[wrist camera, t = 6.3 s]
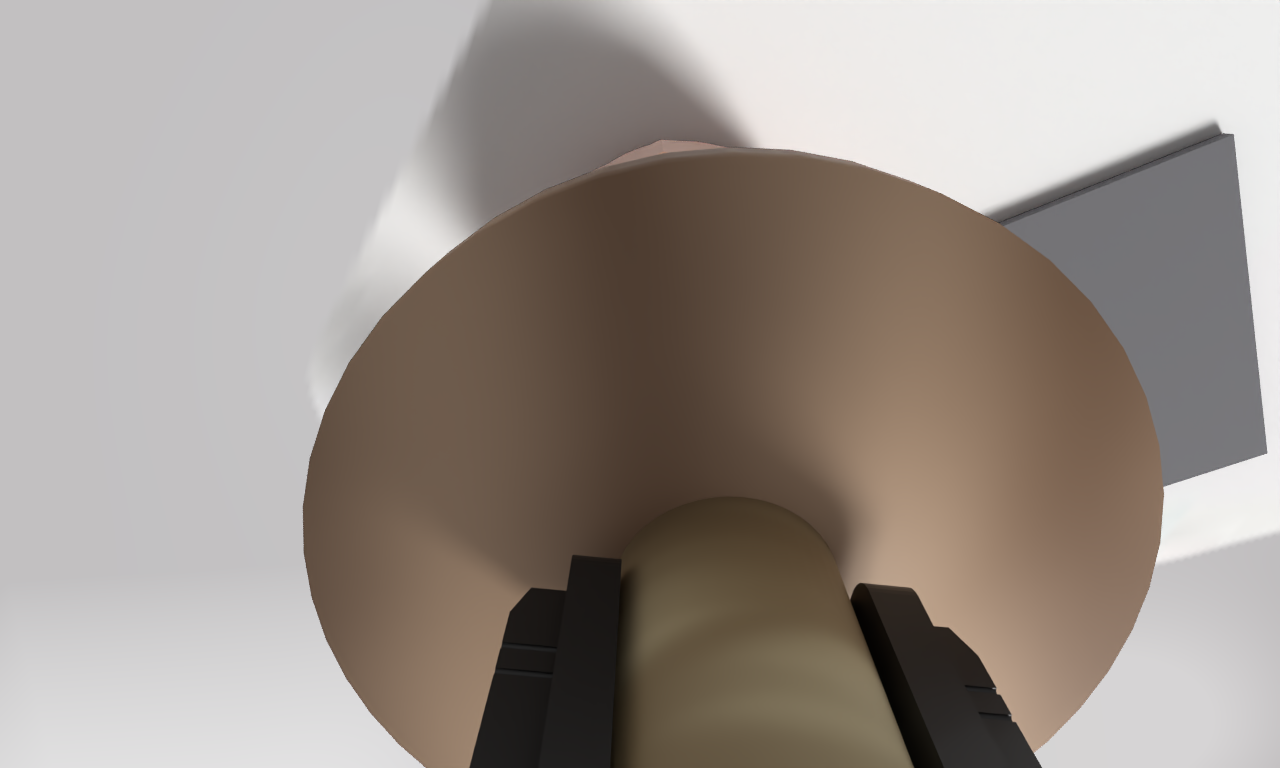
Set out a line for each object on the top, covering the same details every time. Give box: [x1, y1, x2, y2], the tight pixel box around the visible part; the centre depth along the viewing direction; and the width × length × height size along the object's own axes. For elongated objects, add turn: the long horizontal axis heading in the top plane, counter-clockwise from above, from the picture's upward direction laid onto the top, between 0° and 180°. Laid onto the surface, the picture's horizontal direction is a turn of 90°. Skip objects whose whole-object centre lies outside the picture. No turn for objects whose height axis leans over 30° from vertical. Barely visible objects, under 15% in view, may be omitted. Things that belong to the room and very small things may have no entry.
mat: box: [1000, 133, 1267, 487], centre depth 29 cm, size 14×14×1 cm
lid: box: [303, 147, 1164, 768], centre depth 9 cm, size 13×13×6 cm
